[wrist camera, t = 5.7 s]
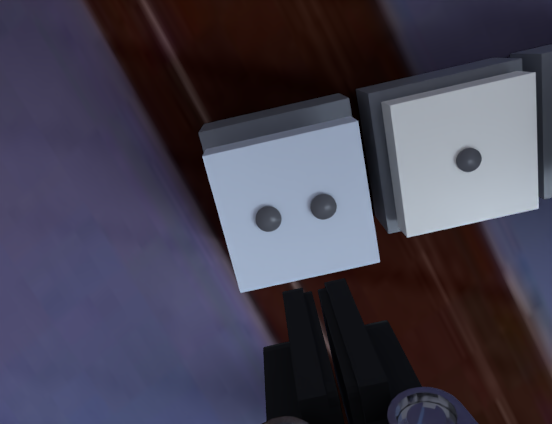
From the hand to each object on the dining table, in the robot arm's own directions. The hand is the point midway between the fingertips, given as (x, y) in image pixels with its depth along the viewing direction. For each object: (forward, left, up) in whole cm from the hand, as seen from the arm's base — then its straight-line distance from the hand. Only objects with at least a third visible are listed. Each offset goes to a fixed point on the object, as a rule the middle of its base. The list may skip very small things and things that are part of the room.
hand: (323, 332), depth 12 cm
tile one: (-9, 0, -16) cm, 19 cm away
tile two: (0, 0, -15) cm, 15 cm away
